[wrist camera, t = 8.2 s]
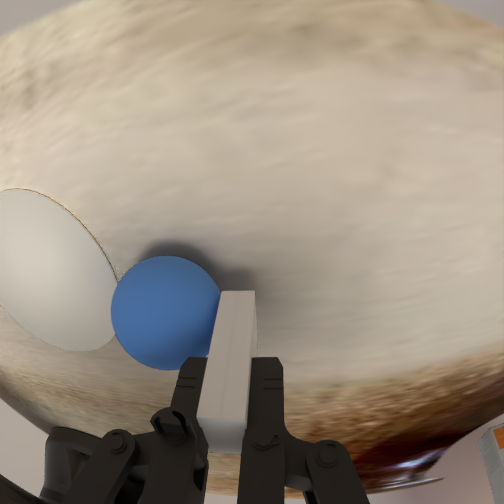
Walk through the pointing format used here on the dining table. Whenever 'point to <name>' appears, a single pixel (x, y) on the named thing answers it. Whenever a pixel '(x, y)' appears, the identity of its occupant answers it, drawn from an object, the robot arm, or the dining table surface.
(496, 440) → the skincare box
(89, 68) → the dining table surface
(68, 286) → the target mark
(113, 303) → the ball
